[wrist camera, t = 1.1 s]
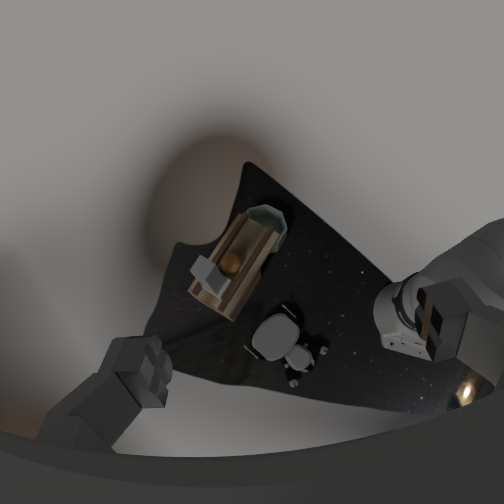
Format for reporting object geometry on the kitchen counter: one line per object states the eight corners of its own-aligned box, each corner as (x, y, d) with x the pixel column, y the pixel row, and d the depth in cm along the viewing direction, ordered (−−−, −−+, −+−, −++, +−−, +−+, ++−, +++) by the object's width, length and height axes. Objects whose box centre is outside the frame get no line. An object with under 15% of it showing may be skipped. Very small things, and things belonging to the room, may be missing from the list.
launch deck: (278, 248, 77) (279, 230, 67) (233, 322, 72) (227, 314, 61) (242, 229, 79) (238, 208, 69) (197, 299, 74) (185, 288, 64)
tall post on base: (232, 283, 65) (222, 260, 51) (222, 300, 64) (209, 282, 50) (214, 272, 66) (200, 247, 52) (203, 289, 65) (186, 268, 51)
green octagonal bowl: (292, 226, 79) (293, 218, 74) (271, 261, 76) (271, 254, 71) (256, 208, 81) (255, 198, 76) (234, 241, 78) (231, 233, 74)
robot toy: (328, 348, 70) (279, 304, 73) (333, 348, 65) (281, 301, 68) (291, 389, 67) (241, 344, 70) (294, 392, 63) (241, 344, 66)
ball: (245, 262, 67) (243, 256, 63) (234, 279, 66) (232, 273, 62) (228, 253, 68) (226, 246, 64) (218, 269, 67) (215, 263, 63)
